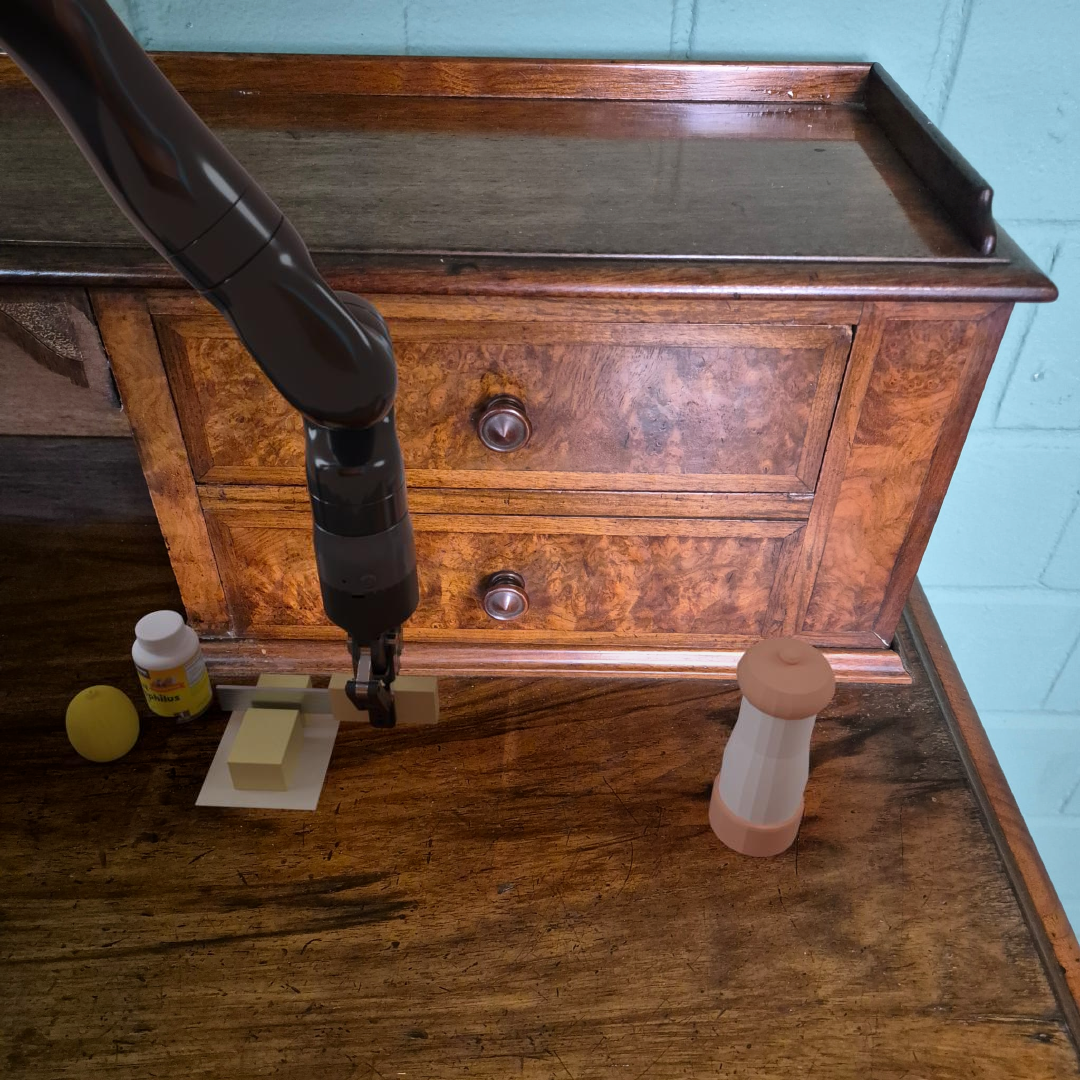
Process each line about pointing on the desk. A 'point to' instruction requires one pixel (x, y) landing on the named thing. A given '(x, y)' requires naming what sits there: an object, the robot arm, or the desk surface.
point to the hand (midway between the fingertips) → (386, 714)
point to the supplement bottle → (171, 666)
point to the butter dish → (304, 776)
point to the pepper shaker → (770, 746)
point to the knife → (337, 699)
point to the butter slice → (289, 682)
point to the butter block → (266, 749)
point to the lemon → (102, 723)
